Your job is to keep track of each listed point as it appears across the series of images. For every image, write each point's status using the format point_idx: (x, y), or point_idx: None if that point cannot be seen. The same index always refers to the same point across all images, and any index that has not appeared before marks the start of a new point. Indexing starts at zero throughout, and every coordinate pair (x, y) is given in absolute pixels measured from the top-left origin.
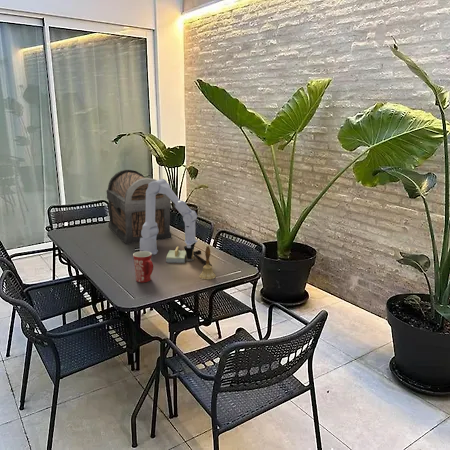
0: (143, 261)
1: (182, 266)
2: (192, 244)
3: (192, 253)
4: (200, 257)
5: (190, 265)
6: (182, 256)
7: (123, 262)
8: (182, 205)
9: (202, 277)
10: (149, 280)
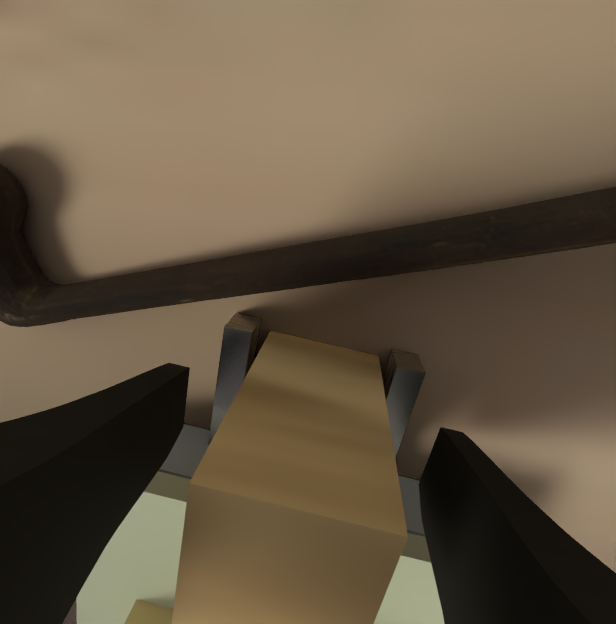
0: None
1: (604, 534)
2: (9, 565)
3: (387, 453)
4: (523, 246)
5: (605, 425)
6: (413, 594)
7: None
8: None
9: None
10: None
